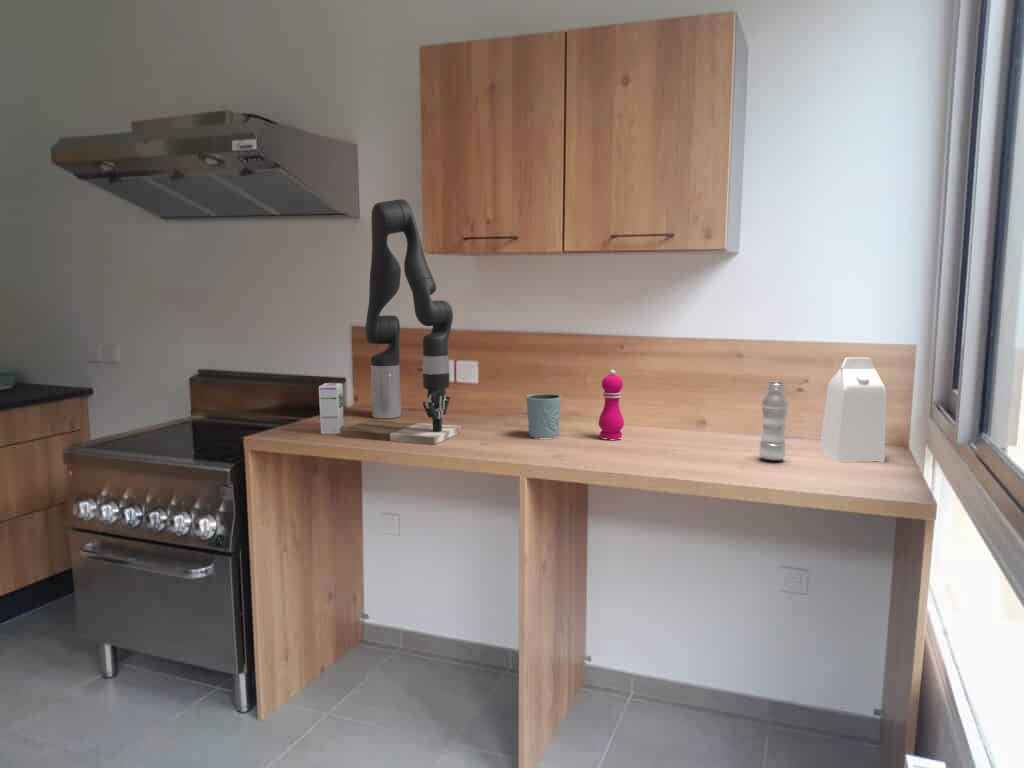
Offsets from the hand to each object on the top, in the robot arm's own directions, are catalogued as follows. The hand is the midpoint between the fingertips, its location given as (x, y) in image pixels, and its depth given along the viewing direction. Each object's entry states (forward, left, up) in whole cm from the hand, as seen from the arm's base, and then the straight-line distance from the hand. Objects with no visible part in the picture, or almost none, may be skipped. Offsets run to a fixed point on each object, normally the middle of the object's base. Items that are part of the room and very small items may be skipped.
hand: (437, 431), depth 216 cm
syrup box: (+4, -33, -2) cm, 33 cm away
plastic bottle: (-9, +91, -2) cm, 91 cm away
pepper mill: (-19, +46, -2) cm, 50 cm away
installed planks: (-1, -19, -2) cm, 19 cm away
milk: (-21, +110, -2) cm, 112 cm away
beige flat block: (-1, -4, -2) cm, 5 cm away
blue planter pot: (-14, +27, -2) cm, 31 cm away
